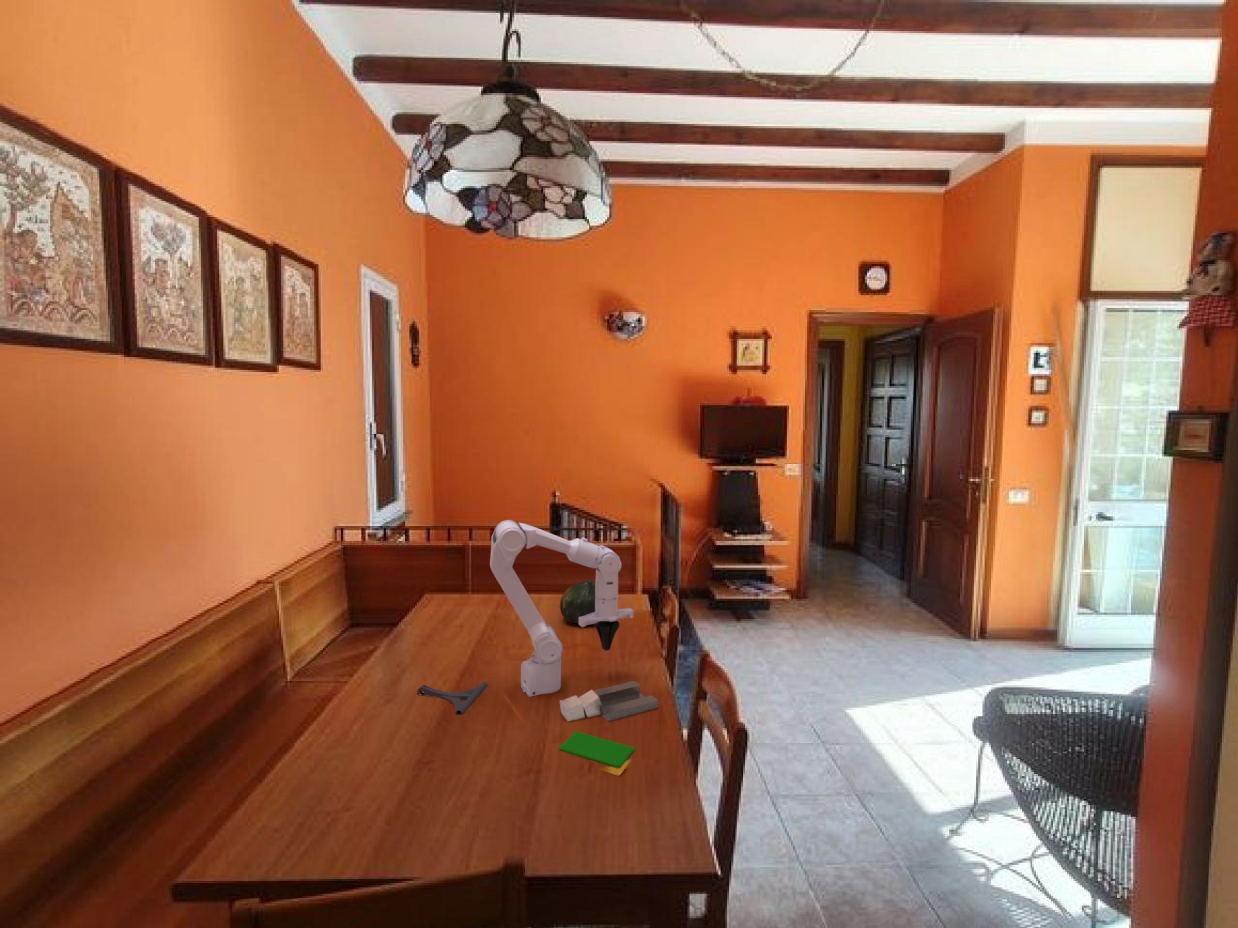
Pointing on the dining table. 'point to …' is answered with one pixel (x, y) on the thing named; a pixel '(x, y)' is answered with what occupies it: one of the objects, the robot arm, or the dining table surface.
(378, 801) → the dining table surface
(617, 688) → the slot plate
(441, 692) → the bracket
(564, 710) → the block
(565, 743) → the dish sponge
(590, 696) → the block
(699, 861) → the dining table surface
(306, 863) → the dining table surface
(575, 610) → the squash
